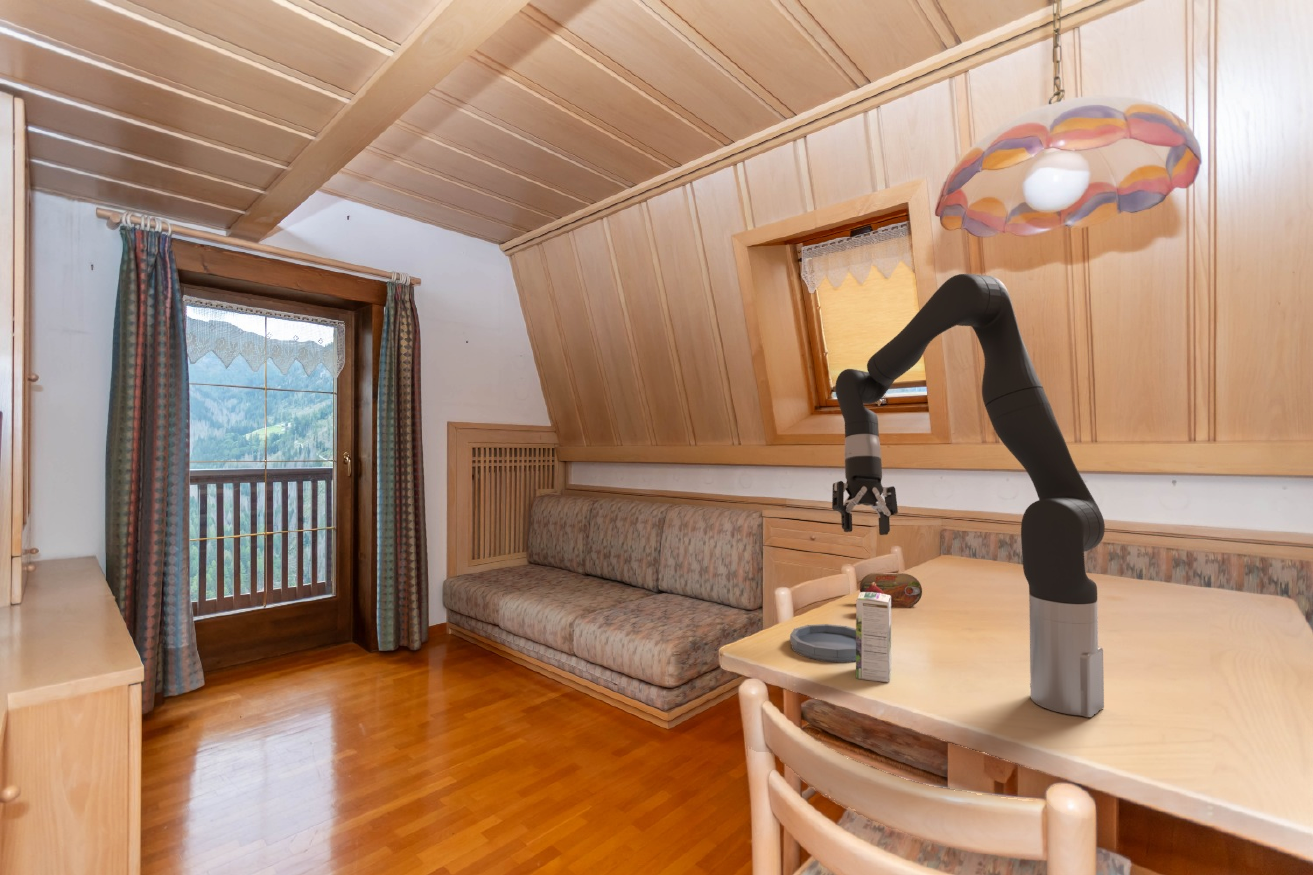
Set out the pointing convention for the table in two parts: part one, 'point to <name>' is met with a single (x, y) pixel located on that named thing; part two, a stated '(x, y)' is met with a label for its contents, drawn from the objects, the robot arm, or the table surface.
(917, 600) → the tin
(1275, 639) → the table surface
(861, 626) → the juice carton
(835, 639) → the dish
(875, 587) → the onion
